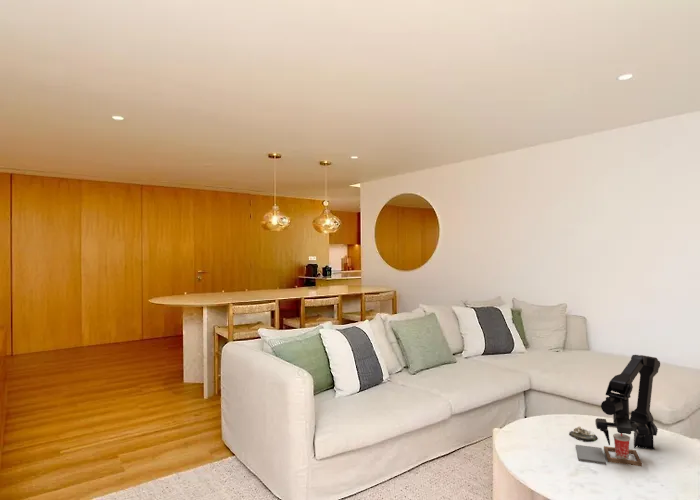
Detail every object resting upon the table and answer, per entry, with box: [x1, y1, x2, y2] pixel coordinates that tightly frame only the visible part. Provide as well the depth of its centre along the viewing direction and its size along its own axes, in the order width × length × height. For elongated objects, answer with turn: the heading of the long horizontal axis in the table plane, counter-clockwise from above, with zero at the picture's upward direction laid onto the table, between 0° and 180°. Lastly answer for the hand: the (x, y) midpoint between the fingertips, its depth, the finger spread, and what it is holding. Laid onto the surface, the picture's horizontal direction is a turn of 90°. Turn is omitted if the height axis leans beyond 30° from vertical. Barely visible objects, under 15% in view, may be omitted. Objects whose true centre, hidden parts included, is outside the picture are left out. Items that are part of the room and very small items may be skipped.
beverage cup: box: [612, 433, 631, 460], centre depth 186 cm, size 6×6×14 cm
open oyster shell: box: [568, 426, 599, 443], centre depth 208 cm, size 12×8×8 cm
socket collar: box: [603, 445, 643, 468], centre depth 186 cm, size 12×12×2 cm
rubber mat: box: [575, 444, 607, 465], centre depth 189 cm, size 10×14×1 cm
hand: (621, 446), depth 187 cm, fingers open, 9 cm apart
